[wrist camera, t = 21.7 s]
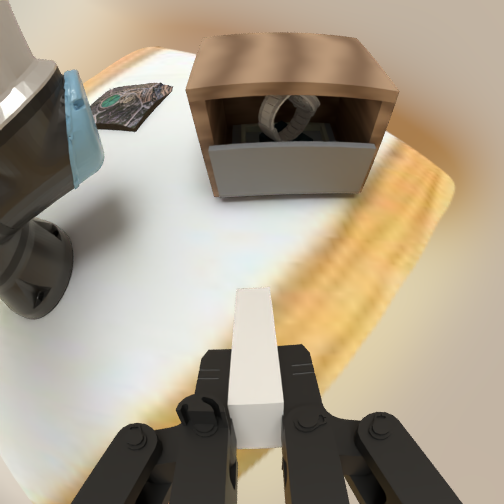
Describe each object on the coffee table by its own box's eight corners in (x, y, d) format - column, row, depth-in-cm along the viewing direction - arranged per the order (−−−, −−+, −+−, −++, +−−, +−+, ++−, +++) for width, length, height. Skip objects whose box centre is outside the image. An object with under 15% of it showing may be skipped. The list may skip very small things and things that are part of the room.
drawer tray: (220, 197, 35) (208, 151, 28) (223, 130, 41) (216, 87, 33) (358, 193, 34) (376, 148, 27) (337, 128, 40) (346, 85, 32)
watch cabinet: (214, 196, 37) (185, 89, 21) (219, 129, 43) (202, 37, 27) (360, 192, 36) (399, 91, 21) (339, 126, 42) (356, 38, 27)
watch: (319, 149, 37) (330, 84, 27) (280, 179, 35) (283, 110, 25) (289, 130, 39) (292, 67, 29) (250, 157, 37) (244, 90, 27)
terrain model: (176, 89, 51) (173, 77, 48) (136, 134, 45) (131, 121, 42) (111, 90, 55) (107, 80, 52) (73, 130, 49) (67, 120, 46)
